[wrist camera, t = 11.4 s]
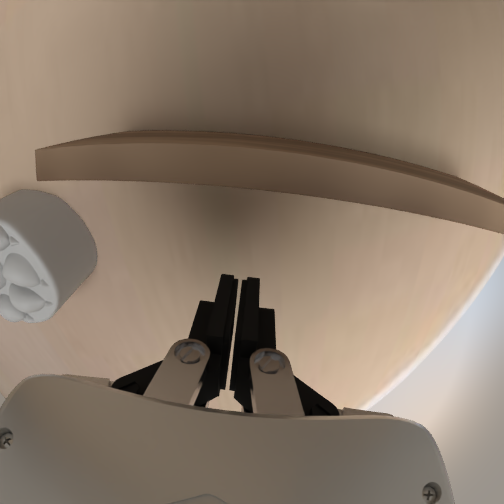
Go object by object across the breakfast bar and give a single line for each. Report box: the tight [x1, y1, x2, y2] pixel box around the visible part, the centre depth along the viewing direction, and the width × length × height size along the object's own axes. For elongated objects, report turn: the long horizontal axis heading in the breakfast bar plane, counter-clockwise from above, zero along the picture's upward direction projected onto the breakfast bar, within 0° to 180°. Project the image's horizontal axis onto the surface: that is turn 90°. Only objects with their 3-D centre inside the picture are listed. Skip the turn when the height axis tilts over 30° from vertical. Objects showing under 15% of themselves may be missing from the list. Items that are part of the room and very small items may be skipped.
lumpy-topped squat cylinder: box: [0, 190, 97, 323], centre depth 20 cm, size 10×13×9 cm
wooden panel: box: [35, 130, 504, 234], centre depth 15 cm, size 2×28×11 cm, turn 84°
